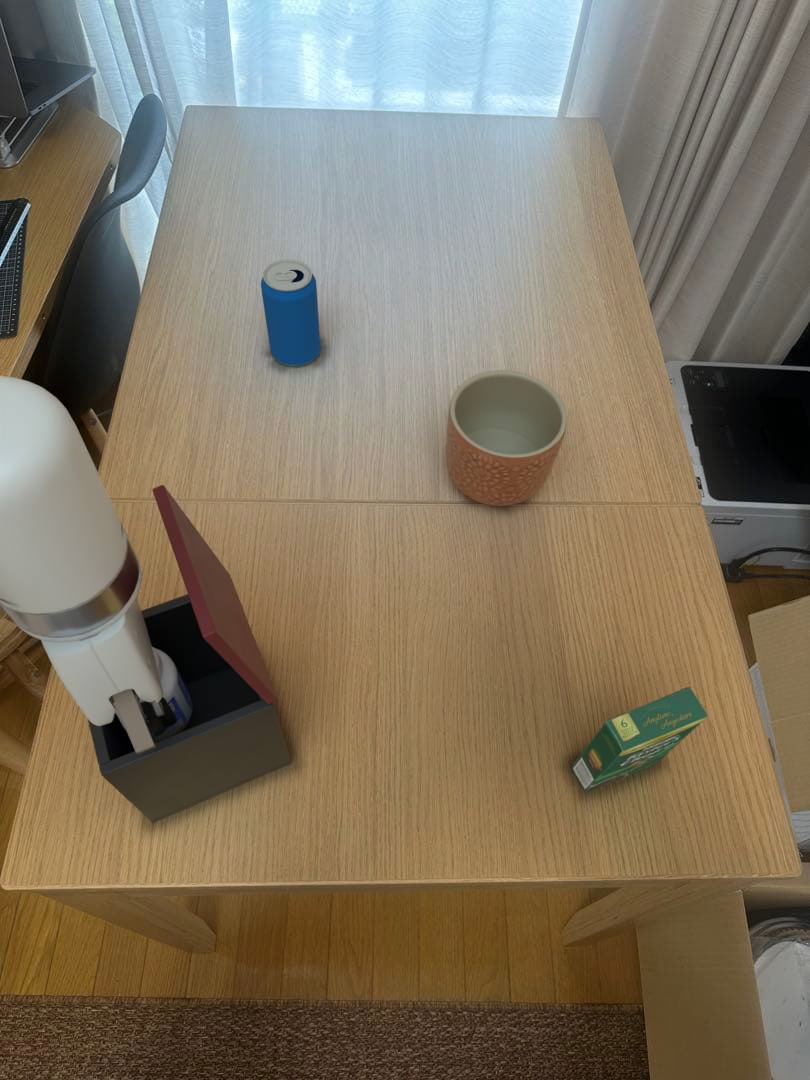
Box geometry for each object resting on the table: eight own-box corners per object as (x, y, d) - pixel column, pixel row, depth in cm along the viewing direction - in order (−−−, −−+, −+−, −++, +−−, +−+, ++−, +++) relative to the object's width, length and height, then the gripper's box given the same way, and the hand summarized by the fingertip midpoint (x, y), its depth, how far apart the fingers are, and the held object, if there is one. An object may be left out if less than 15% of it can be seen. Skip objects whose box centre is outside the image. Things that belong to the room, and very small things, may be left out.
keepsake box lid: (202, 637, 42) (215, 631, 42) (151, 488, 48) (163, 483, 48) (268, 705, 54) (278, 700, 54) (221, 579, 60) (230, 575, 60)
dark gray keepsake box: (153, 823, 64) (100, 775, 51) (121, 705, 69) (67, 636, 57) (291, 763, 67) (274, 705, 55) (251, 655, 73) (226, 579, 60)
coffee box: (581, 797, 66) (623, 752, 55) (566, 767, 68) (604, 717, 57) (658, 765, 68) (713, 716, 57) (642, 737, 70) (693, 683, 59)
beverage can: (323, 368, 94) (318, 290, 84) (272, 372, 94) (261, 294, 84) (318, 333, 98) (312, 254, 88) (269, 337, 97) (257, 258, 87)
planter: (419, 482, 85) (425, 417, 76) (479, 420, 91) (491, 352, 81) (509, 539, 81) (527, 478, 72) (566, 470, 87) (590, 405, 78)
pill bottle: (139, 677, 62) (106, 624, 54) (202, 687, 62) (178, 635, 54) (116, 740, 59) (77, 694, 51) (182, 750, 59) (153, 705, 51)
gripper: (-25, 480, 45) (72, 617, 60) (23, 733, 37) (122, 819, 52) (101, 444, 47) (164, 586, 62) (173, 676, 39) (226, 774, 54)
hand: (144, 691), depth 57 cm, fingers closed on pill bottle, 5 cm apart
